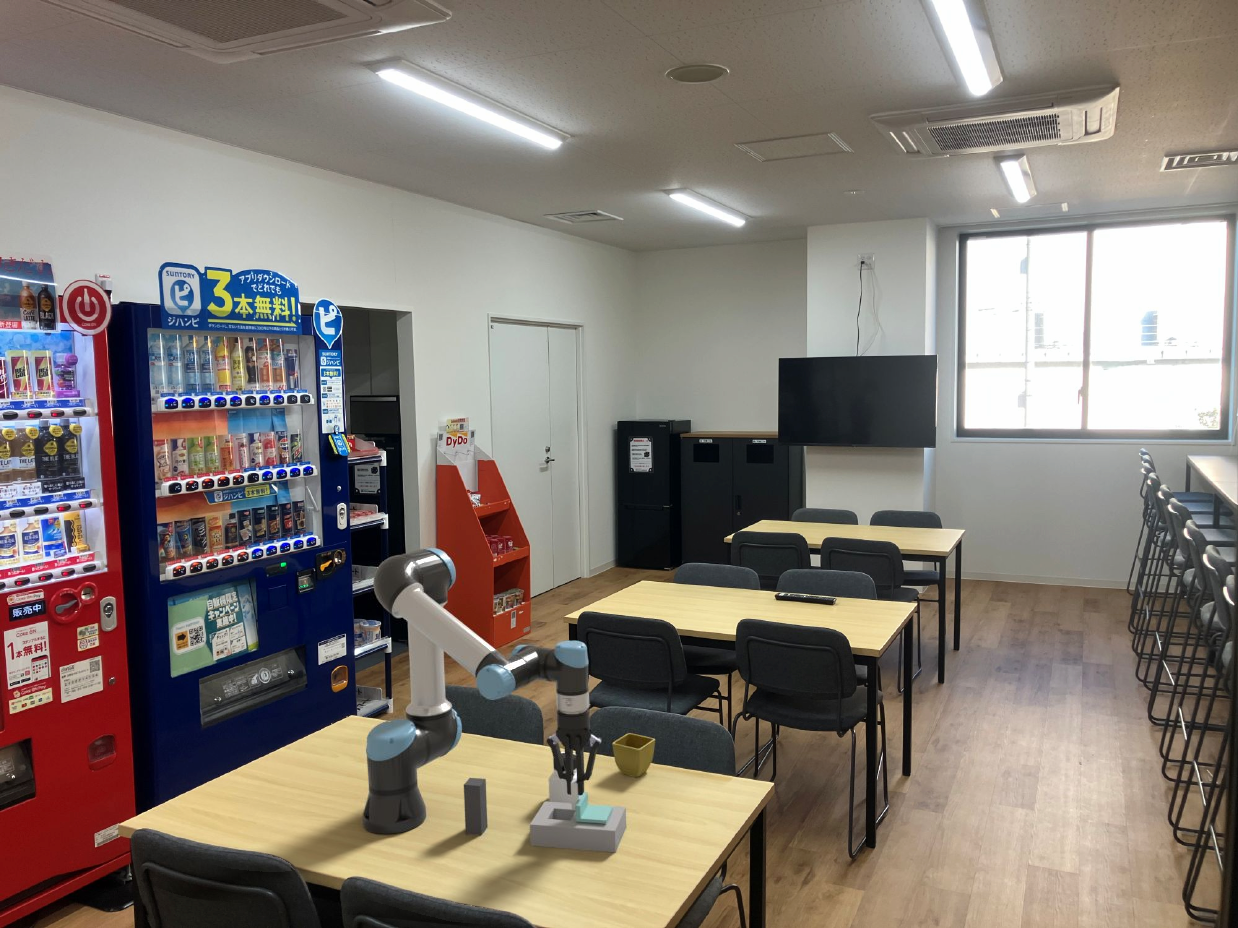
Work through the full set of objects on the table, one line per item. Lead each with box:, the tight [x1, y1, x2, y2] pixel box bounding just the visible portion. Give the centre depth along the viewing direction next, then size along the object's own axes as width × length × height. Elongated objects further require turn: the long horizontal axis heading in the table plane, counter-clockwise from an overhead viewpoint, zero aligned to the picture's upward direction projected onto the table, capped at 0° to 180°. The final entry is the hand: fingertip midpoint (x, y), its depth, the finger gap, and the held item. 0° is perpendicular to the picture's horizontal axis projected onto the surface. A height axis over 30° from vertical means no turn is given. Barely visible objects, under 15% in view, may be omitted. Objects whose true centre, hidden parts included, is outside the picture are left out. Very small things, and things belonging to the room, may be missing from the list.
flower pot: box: [611, 732, 656, 778], centre depth 249 cm, size 9×9×9 cm
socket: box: [529, 801, 627, 853], centre depth 214 cm, size 20×12×5 cm, turn 78°
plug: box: [463, 777, 488, 836], centre depth 218 cm, size 4×4×12 cm
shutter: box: [575, 791, 614, 824], centre depth 213 cm, size 7×7×4 cm
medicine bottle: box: [548, 751, 581, 803], centre depth 233 cm, size 7×7×12 cm
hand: (576, 807), depth 214 cm, fingers closed
